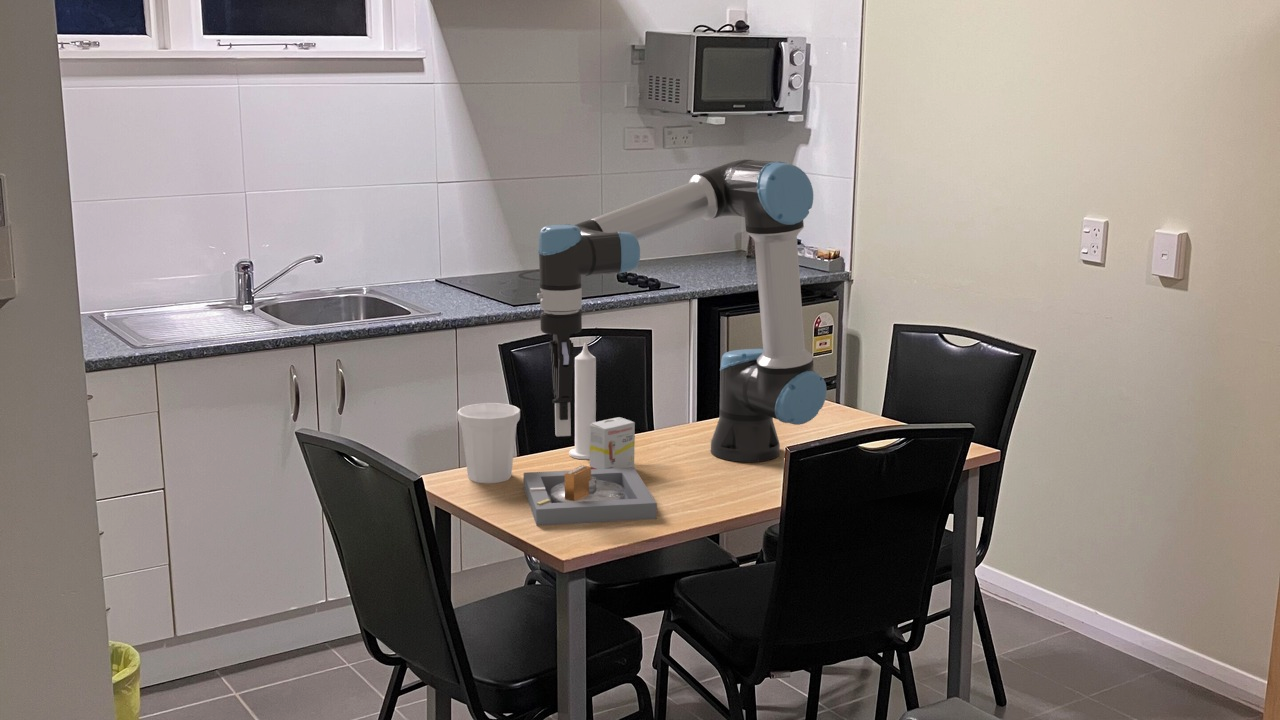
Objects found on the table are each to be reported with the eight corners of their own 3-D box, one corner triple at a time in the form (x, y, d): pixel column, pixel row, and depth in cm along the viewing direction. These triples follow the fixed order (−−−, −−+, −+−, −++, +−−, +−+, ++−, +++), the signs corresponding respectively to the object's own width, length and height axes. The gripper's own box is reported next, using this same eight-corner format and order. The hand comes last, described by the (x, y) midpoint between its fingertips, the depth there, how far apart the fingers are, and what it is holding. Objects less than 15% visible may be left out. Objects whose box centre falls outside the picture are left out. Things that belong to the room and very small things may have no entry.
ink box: (604, 484, 252) (604, 428, 249) (588, 479, 255) (588, 423, 253) (635, 476, 257) (636, 421, 255) (619, 471, 261) (619, 416, 258)
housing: (633, 488, 249) (634, 465, 248) (656, 526, 228) (656, 501, 227) (523, 494, 245) (523, 471, 244) (536, 533, 224) (536, 507, 223)
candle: (607, 456, 271) (607, 344, 265) (577, 461, 267) (578, 347, 262) (592, 448, 277) (592, 338, 271) (563, 452, 273) (563, 341, 268)
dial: (575, 485, 245) (575, 449, 244) (638, 496, 239) (638, 460, 237) (536, 505, 233) (536, 467, 232) (600, 518, 227) (600, 479, 225)
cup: (469, 472, 258) (467, 401, 255) (527, 476, 257) (527, 404, 253) (450, 491, 246) (449, 416, 243) (511, 495, 245) (511, 420, 241)
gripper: (536, 305, 233) (538, 426, 238) (544, 318, 220) (547, 446, 226) (576, 303, 234) (577, 424, 239) (586, 316, 222) (588, 443, 227)
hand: (563, 434), depth 233 cm, fingers closed
